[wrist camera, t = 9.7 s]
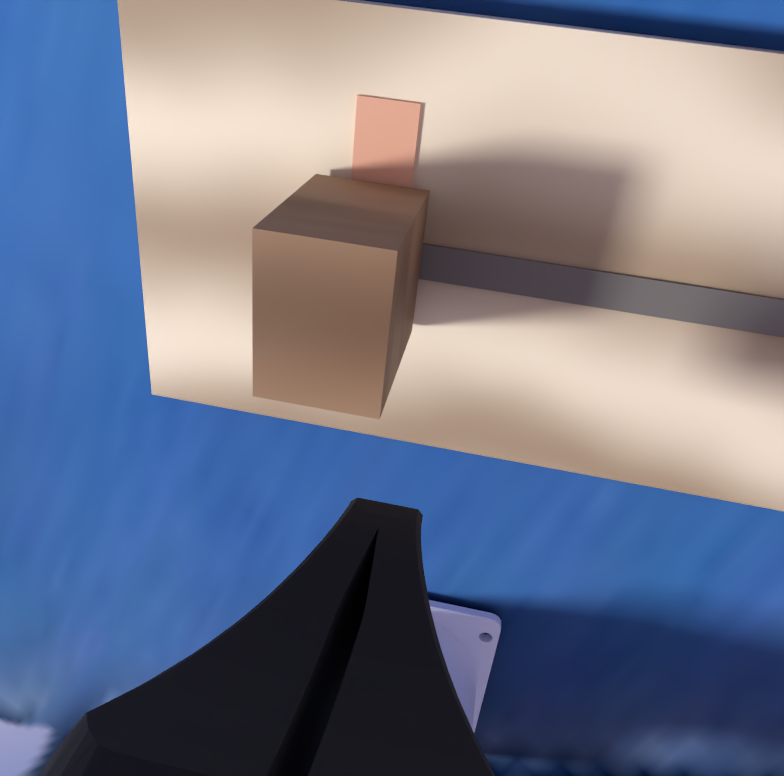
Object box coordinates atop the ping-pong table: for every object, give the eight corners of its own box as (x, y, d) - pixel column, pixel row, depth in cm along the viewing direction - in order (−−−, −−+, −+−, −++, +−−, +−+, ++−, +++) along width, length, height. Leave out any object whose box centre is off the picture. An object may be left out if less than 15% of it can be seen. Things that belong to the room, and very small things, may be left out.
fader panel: (1038, 530, 22) (1072, 566, 20) (172, 373, 25) (150, 395, 23) (1345, 118, 16) (1423, 131, 14) (144, -26, 18) (112, -27, 17)
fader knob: (412, 330, 20) (379, 419, 16) (309, 313, 20) (252, 396, 16) (429, 190, 18) (397, 250, 14) (316, 173, 18) (252, 227, 14)
